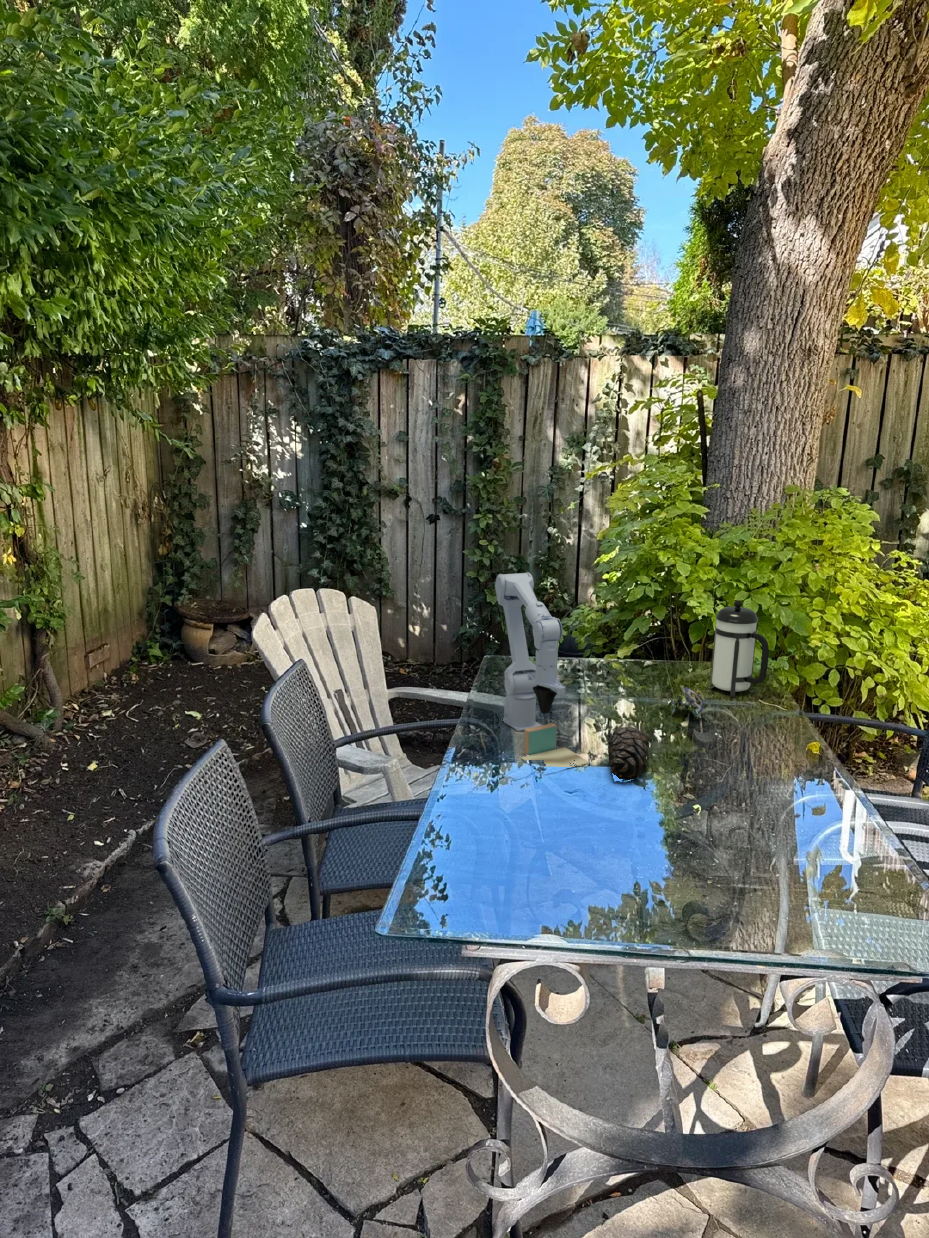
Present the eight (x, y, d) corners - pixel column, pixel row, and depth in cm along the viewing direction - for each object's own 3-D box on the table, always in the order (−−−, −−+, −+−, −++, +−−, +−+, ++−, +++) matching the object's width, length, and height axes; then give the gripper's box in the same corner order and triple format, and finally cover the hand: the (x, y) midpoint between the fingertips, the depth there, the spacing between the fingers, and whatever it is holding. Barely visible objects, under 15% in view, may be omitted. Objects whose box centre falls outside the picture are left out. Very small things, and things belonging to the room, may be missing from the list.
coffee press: (706, 696, 252) (713, 605, 245) (706, 681, 267) (713, 594, 259) (764, 702, 247) (773, 609, 240) (761, 686, 262) (770, 597, 254)
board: (520, 758, 206) (520, 757, 206) (564, 748, 213) (564, 746, 213) (544, 775, 197) (544, 773, 197) (589, 763, 203) (589, 762, 203)
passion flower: (696, 735, 235) (708, 713, 226) (659, 726, 237) (670, 704, 227) (698, 704, 242) (710, 682, 233) (663, 696, 244) (673, 673, 234)
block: (523, 753, 210) (524, 728, 208) (551, 747, 214) (552, 722, 212) (527, 756, 208) (528, 731, 206) (556, 750, 212) (557, 725, 210)
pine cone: (607, 784, 192) (609, 746, 190) (607, 754, 209) (608, 719, 207) (651, 788, 190) (653, 749, 188) (647, 757, 207) (649, 721, 205)
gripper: (575, 669, 205) (573, 718, 208) (543, 654, 217) (541, 701, 220) (553, 673, 201) (551, 723, 205) (521, 658, 213) (520, 705, 217)
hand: (545, 712), depth 212 cm, fingers closed
